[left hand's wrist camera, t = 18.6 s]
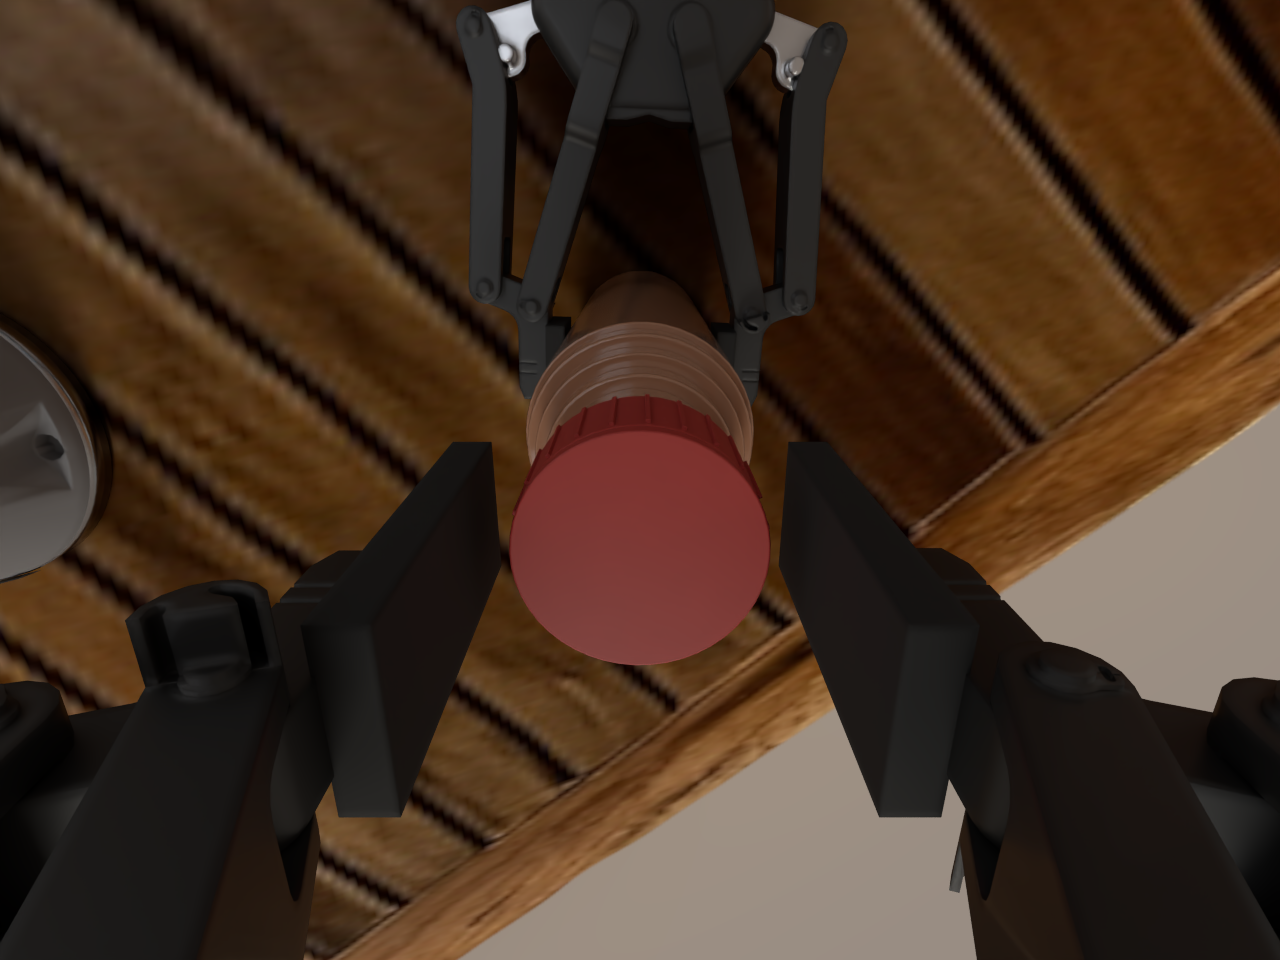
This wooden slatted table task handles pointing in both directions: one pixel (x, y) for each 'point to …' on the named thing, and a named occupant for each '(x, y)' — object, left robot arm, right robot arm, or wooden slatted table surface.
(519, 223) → the wooden slatted table surface
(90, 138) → the wooden slatted table surface
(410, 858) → the wooden slatted table surface
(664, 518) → the cap
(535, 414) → the bottle
